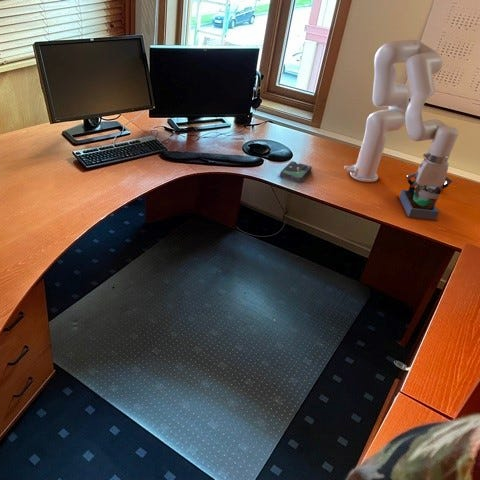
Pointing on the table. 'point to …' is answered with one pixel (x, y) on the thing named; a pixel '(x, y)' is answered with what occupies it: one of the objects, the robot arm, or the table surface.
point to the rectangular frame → (414, 211)
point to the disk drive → (295, 171)
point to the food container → (424, 197)
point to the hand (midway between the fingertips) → (422, 195)
